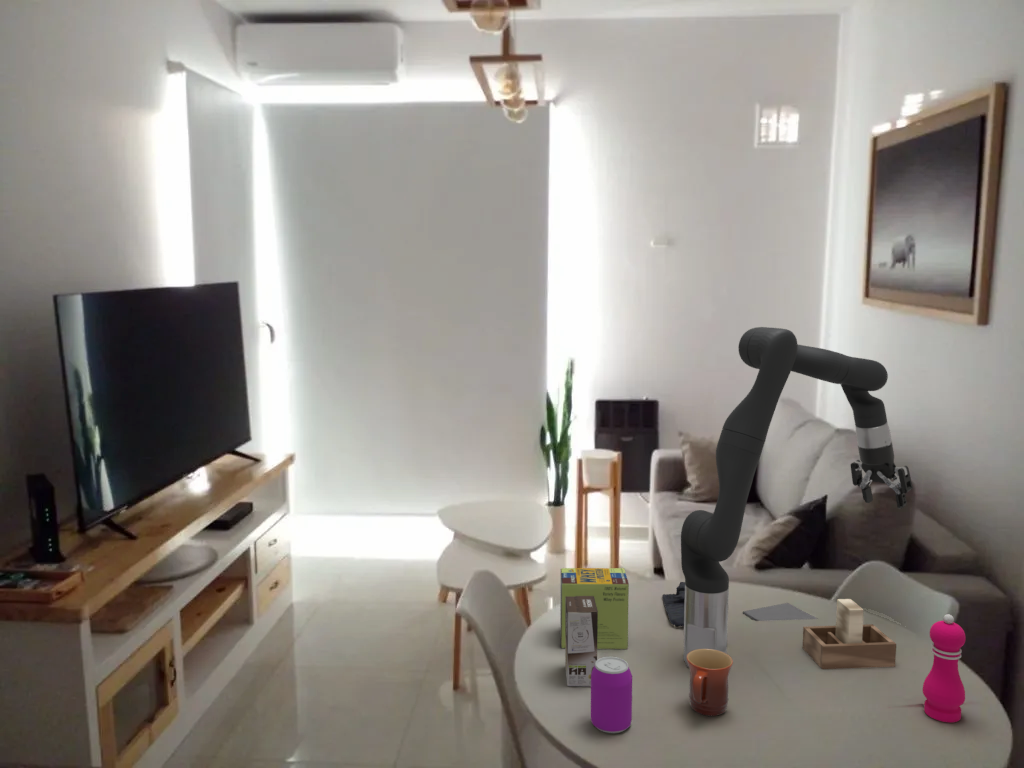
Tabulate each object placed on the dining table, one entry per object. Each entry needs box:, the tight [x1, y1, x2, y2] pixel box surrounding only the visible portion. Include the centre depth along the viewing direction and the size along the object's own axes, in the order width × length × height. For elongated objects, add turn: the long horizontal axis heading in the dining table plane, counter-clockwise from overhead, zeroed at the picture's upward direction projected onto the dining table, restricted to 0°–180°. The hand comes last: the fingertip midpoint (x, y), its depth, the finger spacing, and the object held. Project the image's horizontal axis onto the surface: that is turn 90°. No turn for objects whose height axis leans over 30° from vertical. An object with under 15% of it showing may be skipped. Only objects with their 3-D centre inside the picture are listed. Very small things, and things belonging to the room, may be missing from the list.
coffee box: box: [564, 596, 598, 687], centre depth 170 cm, size 9×6×16 cm
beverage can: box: [590, 656, 633, 734], centre depth 152 cm, size 8×8×12 cm
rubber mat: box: [742, 602, 819, 622], centre depth 197 cm, size 18×14×1 cm
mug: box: [686, 649, 734, 717], centre depth 156 cm, size 12×9×10 cm
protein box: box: [559, 567, 630, 650], centre depth 188 cm, size 10×15×16 cm
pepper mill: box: [922, 613, 967, 724], centre depth 154 cm, size 7×7×20 cm
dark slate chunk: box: [661, 581, 685, 627], centre depth 203 cm, size 15×22×5 cm
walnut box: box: [801, 623, 897, 670], centre depth 177 cm, size 10×16×6 cm, turn 94°
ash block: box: [835, 598, 864, 644], centre depth 177 cm, size 6×3×12 cm, turn 4°
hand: (885, 504), depth 196 cm, fingers open, 8 cm apart
